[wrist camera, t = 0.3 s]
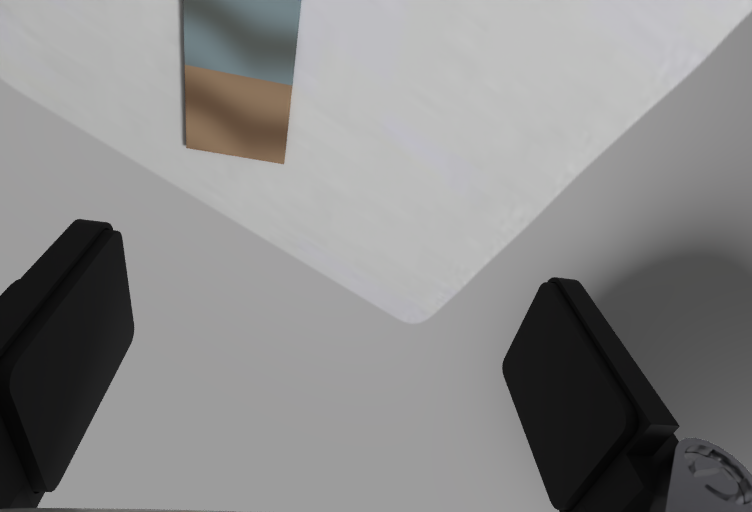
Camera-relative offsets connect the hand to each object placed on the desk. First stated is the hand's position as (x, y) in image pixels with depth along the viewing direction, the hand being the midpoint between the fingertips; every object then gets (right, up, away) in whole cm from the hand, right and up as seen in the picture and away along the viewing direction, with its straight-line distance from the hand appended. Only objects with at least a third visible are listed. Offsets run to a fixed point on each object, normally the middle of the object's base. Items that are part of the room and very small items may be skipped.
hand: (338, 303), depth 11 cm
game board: (-10, +20, +27) cm, 35 cm away
